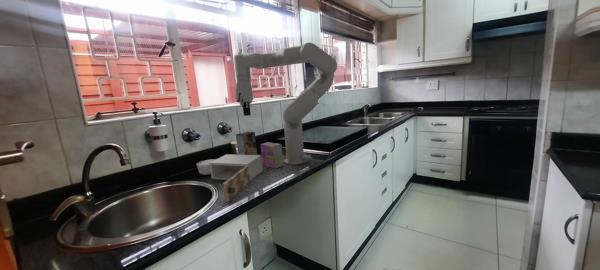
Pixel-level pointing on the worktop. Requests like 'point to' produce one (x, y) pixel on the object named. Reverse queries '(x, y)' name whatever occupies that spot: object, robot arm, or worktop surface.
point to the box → (272, 155)
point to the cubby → (235, 166)
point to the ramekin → (204, 166)
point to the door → (236, 183)
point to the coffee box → (246, 143)
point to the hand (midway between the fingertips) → (247, 115)
